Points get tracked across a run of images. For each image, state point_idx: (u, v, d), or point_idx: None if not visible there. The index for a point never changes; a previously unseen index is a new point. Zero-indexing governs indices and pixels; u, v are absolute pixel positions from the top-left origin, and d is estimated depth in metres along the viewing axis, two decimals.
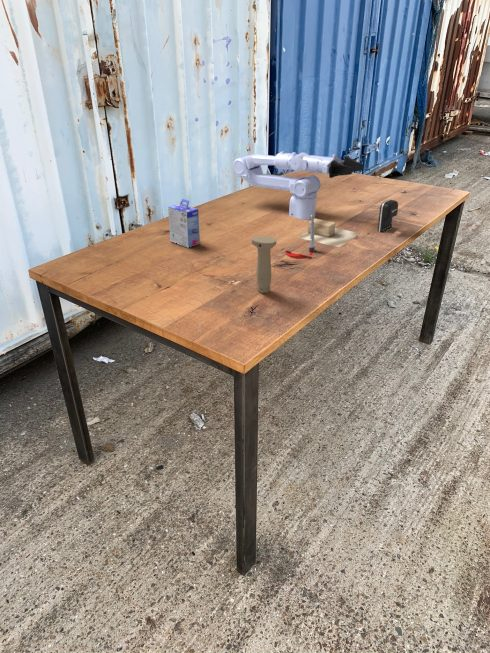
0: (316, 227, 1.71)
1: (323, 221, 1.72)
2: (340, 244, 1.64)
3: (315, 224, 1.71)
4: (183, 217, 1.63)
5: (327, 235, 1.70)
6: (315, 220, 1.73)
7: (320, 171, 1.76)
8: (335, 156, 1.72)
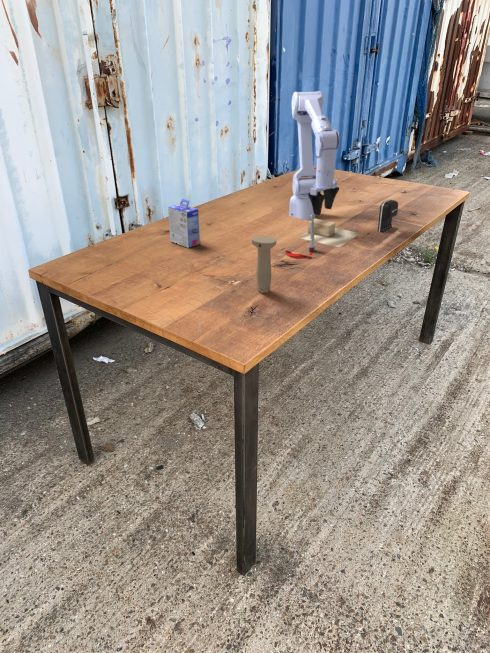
0: (316, 227, 1.71)
1: (323, 221, 1.72)
2: (340, 244, 1.64)
3: (315, 224, 1.71)
4: (183, 217, 1.63)
5: (327, 235, 1.70)
6: (315, 220, 1.73)
7: (316, 173, 1.63)
8: None
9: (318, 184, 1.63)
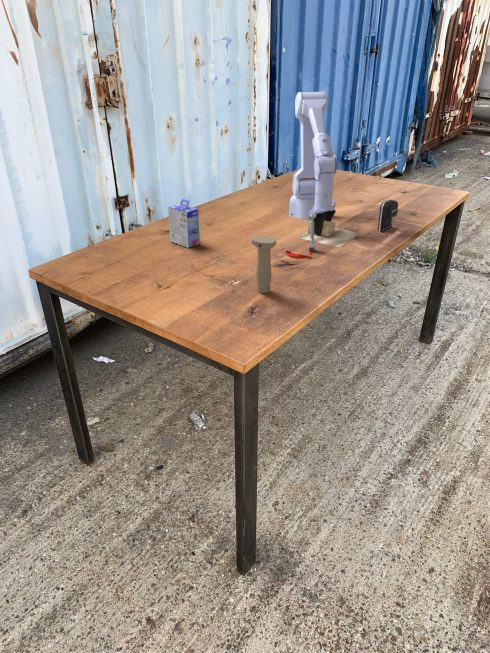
0: None
1: None
2: (340, 244, 1.64)
3: None
4: (183, 217, 1.63)
5: (327, 235, 1.70)
6: None
7: (315, 196, 1.66)
8: None
9: (317, 206, 1.67)
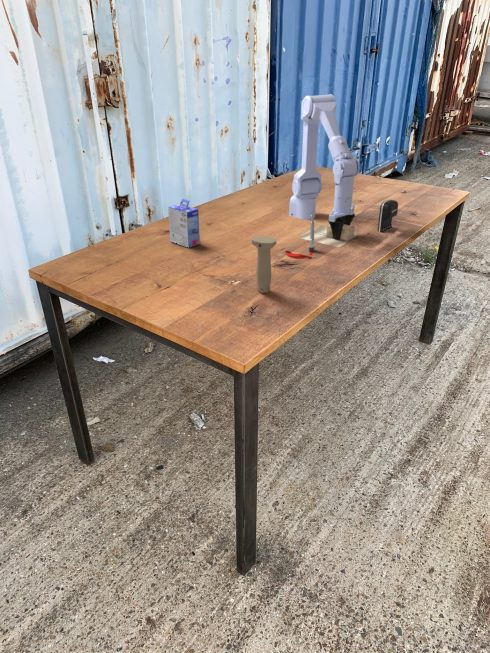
0: None
1: None
2: (340, 244, 1.64)
3: None
4: (183, 217, 1.63)
5: (346, 239, 1.66)
6: None
7: (335, 199, 1.63)
8: None
9: (336, 210, 1.63)
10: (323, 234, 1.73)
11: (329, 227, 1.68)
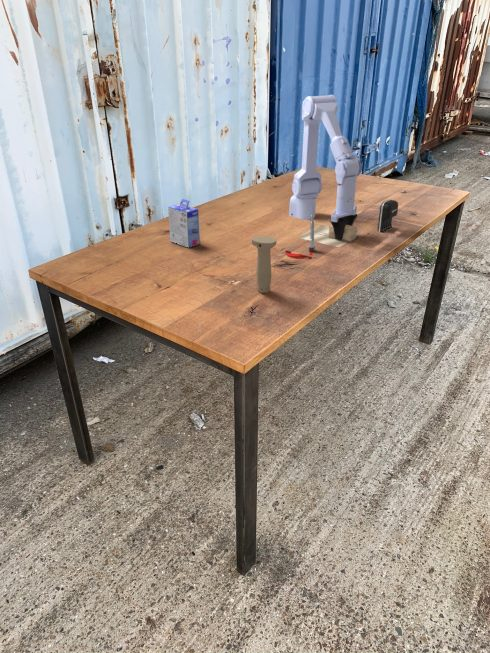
0: None
1: None
2: (340, 244, 1.64)
3: None
4: (183, 217, 1.63)
5: (349, 240, 1.65)
6: None
7: (337, 199, 1.62)
8: None
9: (338, 210, 1.63)
10: (323, 234, 1.73)
11: (331, 227, 1.68)
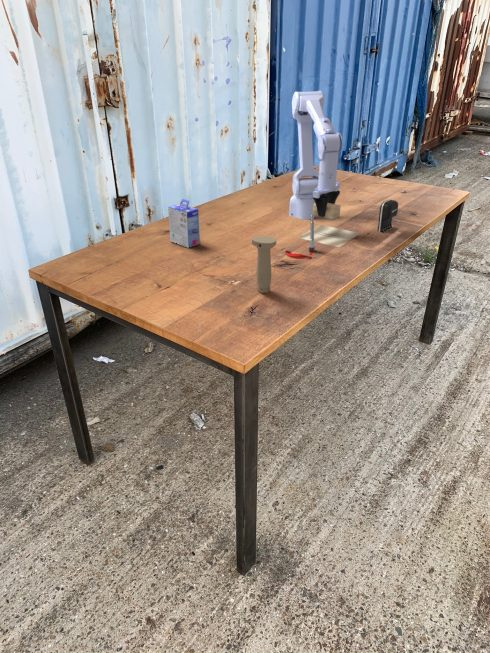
0: None
1: (328, 204, 1.68)
2: (340, 244, 1.64)
3: None
4: (183, 217, 1.63)
5: (332, 218, 1.66)
6: None
7: (319, 176, 1.62)
8: None
9: (321, 187, 1.63)
10: (323, 234, 1.73)
11: (315, 206, 1.68)
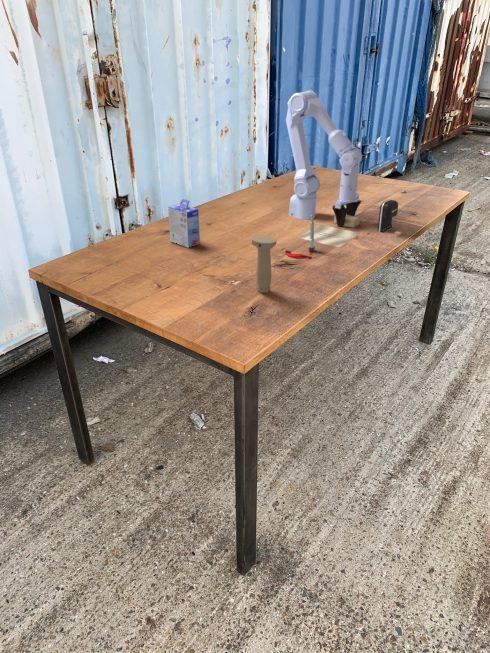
0: None
1: (348, 216, 1.81)
2: (340, 244, 1.64)
3: None
4: (183, 217, 1.63)
5: None
6: None
7: (340, 188, 1.75)
8: None
9: (342, 198, 1.76)
10: (323, 234, 1.73)
11: None
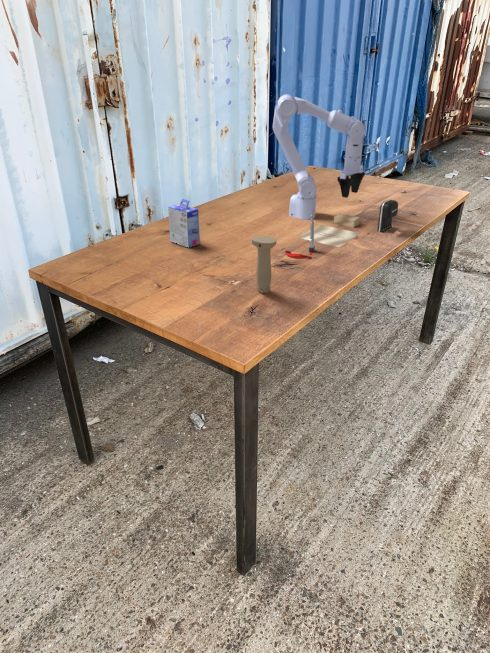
0: (341, 221, 1.80)
1: (348, 216, 1.81)
2: (340, 244, 1.64)
3: (340, 219, 1.80)
4: (183, 217, 1.63)
5: None
6: (340, 215, 1.82)
7: (345, 159, 1.78)
8: None
9: (346, 169, 1.79)
10: (323, 234, 1.73)
11: (336, 218, 1.81)
